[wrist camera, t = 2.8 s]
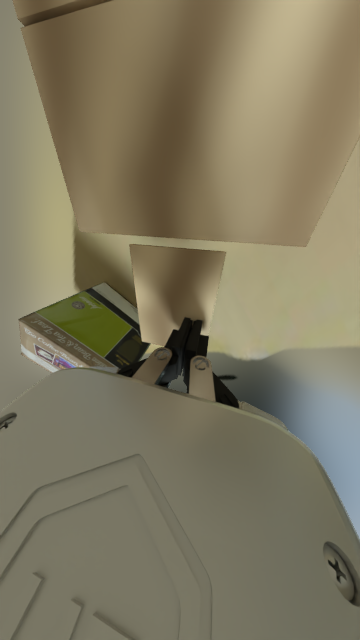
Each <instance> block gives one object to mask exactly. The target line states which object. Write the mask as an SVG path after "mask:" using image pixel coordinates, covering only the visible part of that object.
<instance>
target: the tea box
mask: <svg viewBox="0 0 360 640" xmlns="http://www.w3.org/2000/svg"><path fill="white" fill-rule="evenodd" d="M19 328H20V337H21V350H22V353H21V354H22V355H23V356H24V357H26V358H28V359H29V360H31V361H32V362H34V363H36V364H37V365H39V366H41V367H42V368H44V369H46V370H47V371H49V372H50V373H53V372H56V371H58V370H62V369H67V368H76V367H86V368H89V367H93V366H97V367H119V369H122V368H123V367H125V366H128V365H131V364H133V363H136V362H139V361H140V360H141V358H142V357H143V355H144V354H145V352H146V351H147V349H148V347H149V346H150V344H151V343H147V342H143V341H142V338H141V331H140V323H139V315H138V309H137V308H135V307H134V306H133V305H132V304H130V303H129V302H128V301H127V300H126V299H124V298H123V297H122V296H121V295H119V294H118V293H117V292H116V291H115V290H113V289H112V288H111V287H110V286H108V285H107V284H106V283H105V282H104V283H101V284H99V285H96V286H94V287H92V288H90V289H87V290H85V291H82V292H80V293H77V294H75V295H73V296H71V297H68V298H66V299H63V300H61V301H59V302H56V303H54V304H52V305H50V306H47V307H45V308H42V309H40V310H38V311H36V312H33V313H31V314H29V315H27V316H24V317H22V318H20V319H19Z"/></svg>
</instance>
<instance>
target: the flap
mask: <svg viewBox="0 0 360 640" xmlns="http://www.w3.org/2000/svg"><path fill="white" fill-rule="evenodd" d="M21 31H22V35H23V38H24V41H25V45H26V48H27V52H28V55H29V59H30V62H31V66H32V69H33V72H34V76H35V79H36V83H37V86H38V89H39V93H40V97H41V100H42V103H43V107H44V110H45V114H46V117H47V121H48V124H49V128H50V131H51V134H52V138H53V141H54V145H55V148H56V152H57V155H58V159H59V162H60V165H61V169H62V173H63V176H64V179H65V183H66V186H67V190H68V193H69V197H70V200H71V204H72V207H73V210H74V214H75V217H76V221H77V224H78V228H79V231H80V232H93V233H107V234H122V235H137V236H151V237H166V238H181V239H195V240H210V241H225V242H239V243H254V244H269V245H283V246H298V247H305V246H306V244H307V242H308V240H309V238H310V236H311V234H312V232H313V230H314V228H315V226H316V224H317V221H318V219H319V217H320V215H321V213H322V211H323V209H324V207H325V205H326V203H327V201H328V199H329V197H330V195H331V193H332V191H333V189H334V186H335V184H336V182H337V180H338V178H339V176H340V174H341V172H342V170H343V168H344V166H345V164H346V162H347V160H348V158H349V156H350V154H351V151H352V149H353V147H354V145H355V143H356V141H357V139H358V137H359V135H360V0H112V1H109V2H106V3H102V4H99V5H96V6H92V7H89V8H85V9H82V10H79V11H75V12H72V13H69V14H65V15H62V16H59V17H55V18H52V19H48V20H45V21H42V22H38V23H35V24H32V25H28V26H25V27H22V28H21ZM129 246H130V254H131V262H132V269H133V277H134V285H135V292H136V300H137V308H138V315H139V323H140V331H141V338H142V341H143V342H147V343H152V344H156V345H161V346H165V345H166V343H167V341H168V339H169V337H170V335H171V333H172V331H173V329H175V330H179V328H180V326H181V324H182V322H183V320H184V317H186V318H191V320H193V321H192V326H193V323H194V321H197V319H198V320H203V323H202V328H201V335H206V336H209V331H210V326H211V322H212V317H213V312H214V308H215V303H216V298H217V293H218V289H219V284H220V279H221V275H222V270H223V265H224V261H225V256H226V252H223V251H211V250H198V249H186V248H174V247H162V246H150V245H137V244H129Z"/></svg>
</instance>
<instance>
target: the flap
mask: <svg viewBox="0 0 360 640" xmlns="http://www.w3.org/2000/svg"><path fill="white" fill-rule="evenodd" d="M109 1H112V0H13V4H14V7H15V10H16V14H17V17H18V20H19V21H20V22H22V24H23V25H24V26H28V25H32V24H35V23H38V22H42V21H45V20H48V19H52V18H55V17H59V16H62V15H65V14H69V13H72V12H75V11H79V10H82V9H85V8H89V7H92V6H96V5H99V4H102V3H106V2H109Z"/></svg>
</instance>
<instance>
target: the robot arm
mask: <svg viewBox="0 0 360 640" xmlns="http://www.w3.org/2000/svg"><path fill="white" fill-rule="evenodd" d="M192 321H193V320H191V318H186V317H184V320H183V322H182V324H181V326H180V328H179V330H175V329H173V331H172V333H171V335H170V337H169V339H168V341H167V343H166V345H165V346H164V347H161V348H157V349H155V350H154V351H153V353H152V354H151V355H150V356H149V358H147V359H144V360H142V361H139V362H136V363H133V364H131V365H128V366H125V367H123V368H122V369H119V367H97V366H93V367H89V368H86V367H76V368H67V369H62V370H58V371H56V372H53V373H52V374H50V375H48V376H46V377H45V378H43V379H42V380H41V381H39V382H38V383H36V384H35V385H33V386H32V387H31V388H30V389H28V390H27V391H25V392H24V393H23V394H22V395H20V396H19V397H18V398H16V399H15V400H14V401H13V402H11V403H10V404H9V405H8V406H6V407H5V408H4V409H3V410H1V411H0V640H360V539H359V537H358V535H357V532H356V530H355V528H354V526H353V524H352V522H351V520H350V518H349V515H348V513H347V511H346V509H345V507H344V505H343V503H342V501H341V499H340V497H339V495H338V493H337V491H336V489H335V487H334V486H333V483H332V482H331V480H330V478H329V476H328V474H327V472H326V471H325V469H324V467H323V466H322V464H321V463H320V462H319V460H318V458H317V457H316V456H315V454H314V453H313V452H312V451H311V450H310V449H309V448H308V447H307V446H306V445H305V444H304V443H303V442H302V441H301V440H300V439H298V438H297V437H296V436H294V435H293V434H292V433H290V432H289V431H288V429H287V428H286V426H285V425H284V424H283V423H282V422H281V421H280V420H279V419H277V418H275V417H273V416H271V415H269V414H267V413H265V412H263V411H261V410H259V409H257V408H255V407H253V406H251V405H249V404H247V403H245V402H242V403H241V402H239V401H238V400H237V399H236V398H235V396H234V395H233V394H232V393H231V392H230V391H229V389H228V388H227V387H226V386H225V385H224V384H223V383H222V381H221V380H220V379H219V378H218V377H217V376H216V375H215V374H214V373H213V372H212V366H211V362H210V361H209V359H207V358H206V355H207V347H208V339H209V336H206V335H201V328H202V323H203V320H198V319H197V321H194V323H193V326H192ZM182 369H183V376H184V380H183V381H184V383H185V384H186V386H187V393H183V392H179V391H176V390H172V389H169V386H170V384H171V381H172V380H174V379H177V377H178V375H181V372H182Z"/></svg>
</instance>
